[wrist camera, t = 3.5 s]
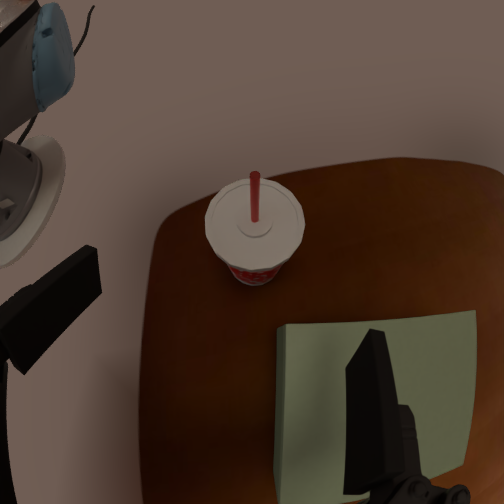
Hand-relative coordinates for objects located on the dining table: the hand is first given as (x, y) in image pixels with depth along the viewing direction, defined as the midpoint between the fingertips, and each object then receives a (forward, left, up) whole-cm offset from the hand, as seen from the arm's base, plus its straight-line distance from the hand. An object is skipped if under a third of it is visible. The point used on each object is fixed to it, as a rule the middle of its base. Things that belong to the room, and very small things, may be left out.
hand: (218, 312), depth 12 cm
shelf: (+7, +11, -12) cm, 18 cm away
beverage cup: (-6, +1, -13) cm, 14 cm away
